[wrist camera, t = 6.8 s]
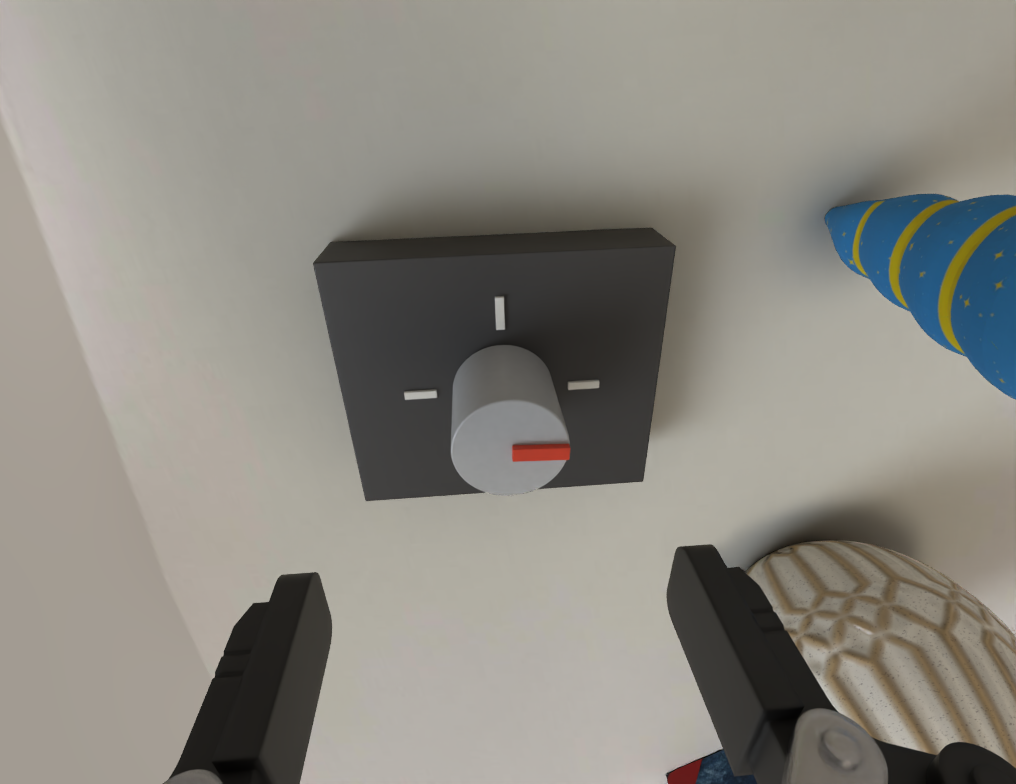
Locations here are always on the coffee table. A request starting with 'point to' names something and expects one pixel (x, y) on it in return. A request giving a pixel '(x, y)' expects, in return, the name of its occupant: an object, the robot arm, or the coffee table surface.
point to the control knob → (507, 422)
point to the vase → (896, 644)
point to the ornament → (942, 269)
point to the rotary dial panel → (489, 322)
